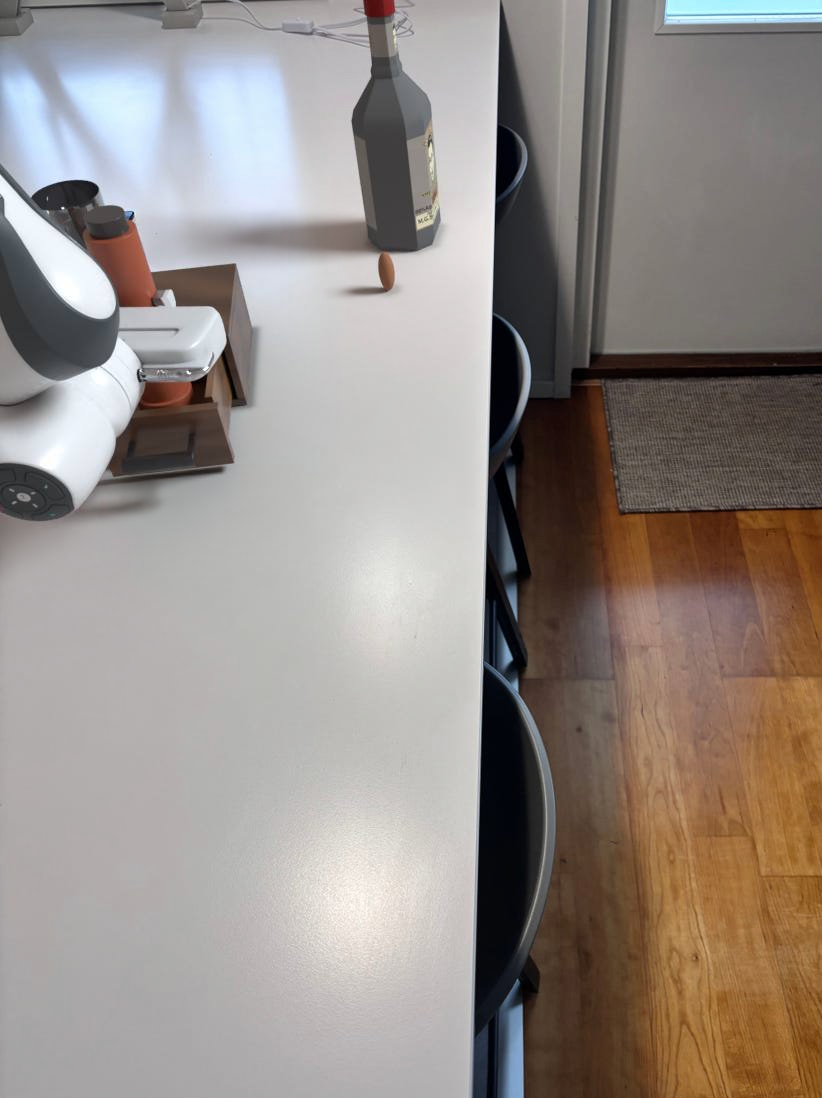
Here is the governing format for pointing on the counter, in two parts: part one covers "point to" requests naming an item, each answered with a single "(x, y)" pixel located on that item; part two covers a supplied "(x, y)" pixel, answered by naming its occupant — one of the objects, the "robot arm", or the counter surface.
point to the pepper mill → (130, 285)
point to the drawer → (180, 430)
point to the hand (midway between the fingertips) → (135, 296)
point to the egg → (386, 271)
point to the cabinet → (227, 298)
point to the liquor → (394, 145)
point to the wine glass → (69, 204)
